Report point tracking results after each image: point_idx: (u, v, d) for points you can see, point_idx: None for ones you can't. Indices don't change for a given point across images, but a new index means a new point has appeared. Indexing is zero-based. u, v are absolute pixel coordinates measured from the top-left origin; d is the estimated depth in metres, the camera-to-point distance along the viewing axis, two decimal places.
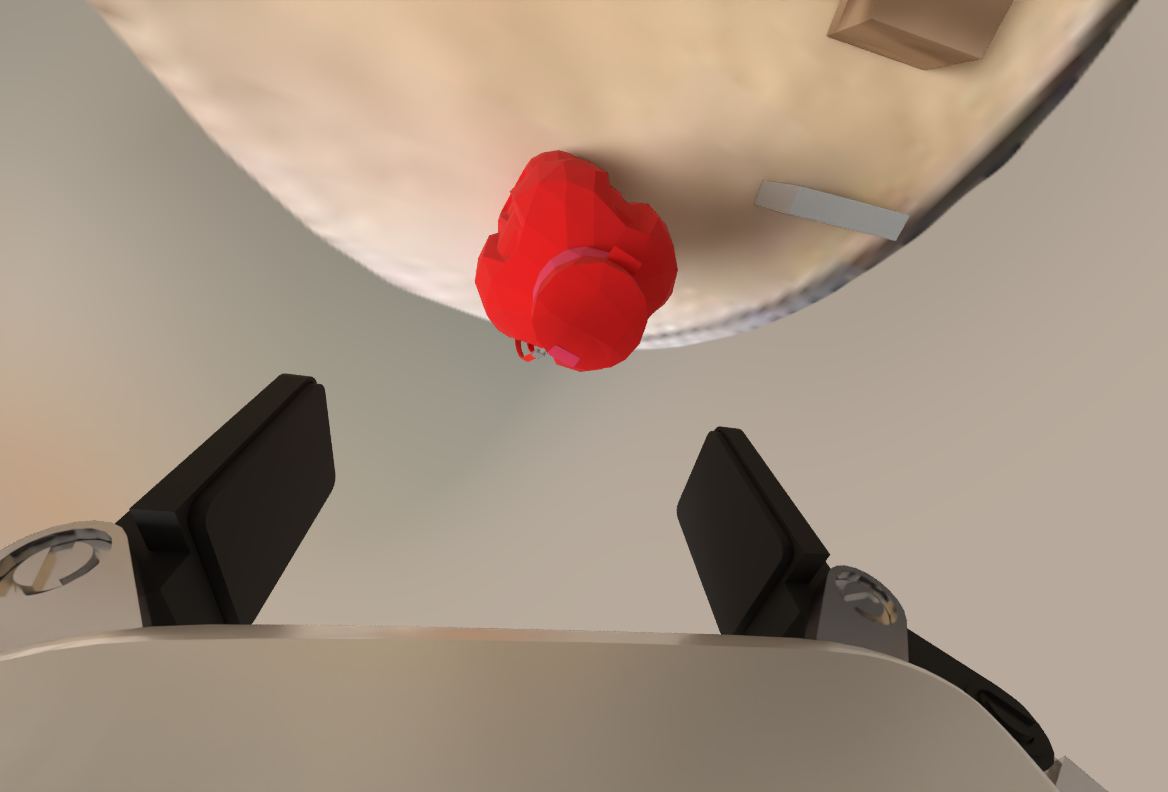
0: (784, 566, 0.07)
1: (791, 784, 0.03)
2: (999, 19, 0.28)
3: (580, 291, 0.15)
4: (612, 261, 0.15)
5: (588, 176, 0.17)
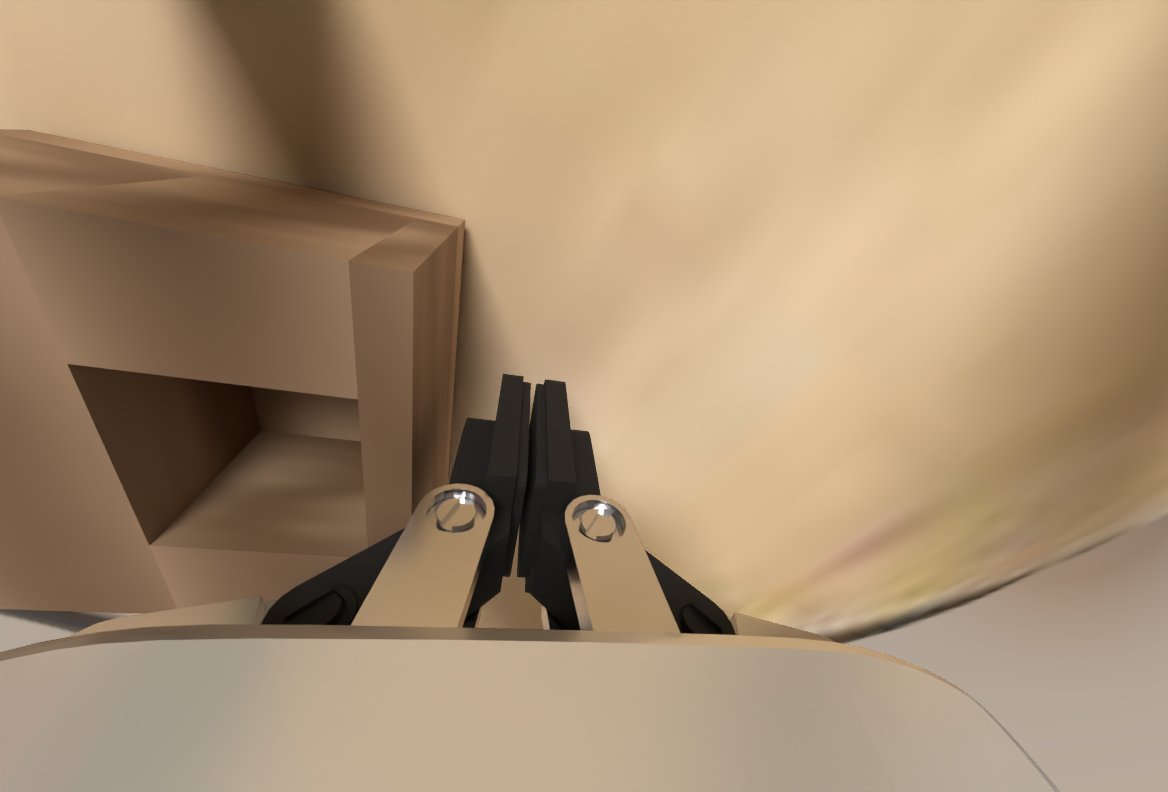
0: (540, 496, 0.08)
1: (790, 784, 0.03)
2: (83, 605, 0.09)
3: None
4: None
5: None
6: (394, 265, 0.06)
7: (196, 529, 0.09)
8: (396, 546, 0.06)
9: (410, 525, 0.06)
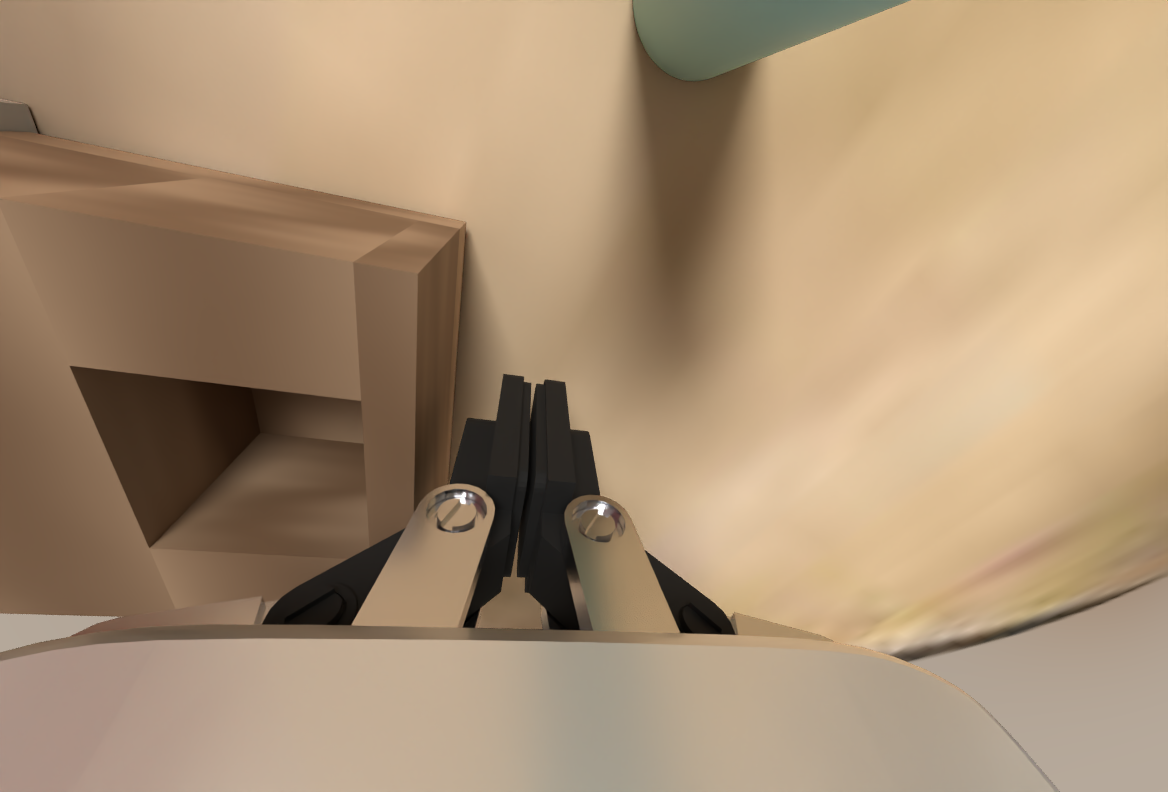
0: (539, 496, 0.08)
1: (789, 783, 0.03)
2: (81, 609, 0.09)
3: None
4: None
5: None
6: (398, 267, 0.06)
7: (196, 532, 0.09)
8: (397, 546, 0.06)
9: (411, 525, 0.06)
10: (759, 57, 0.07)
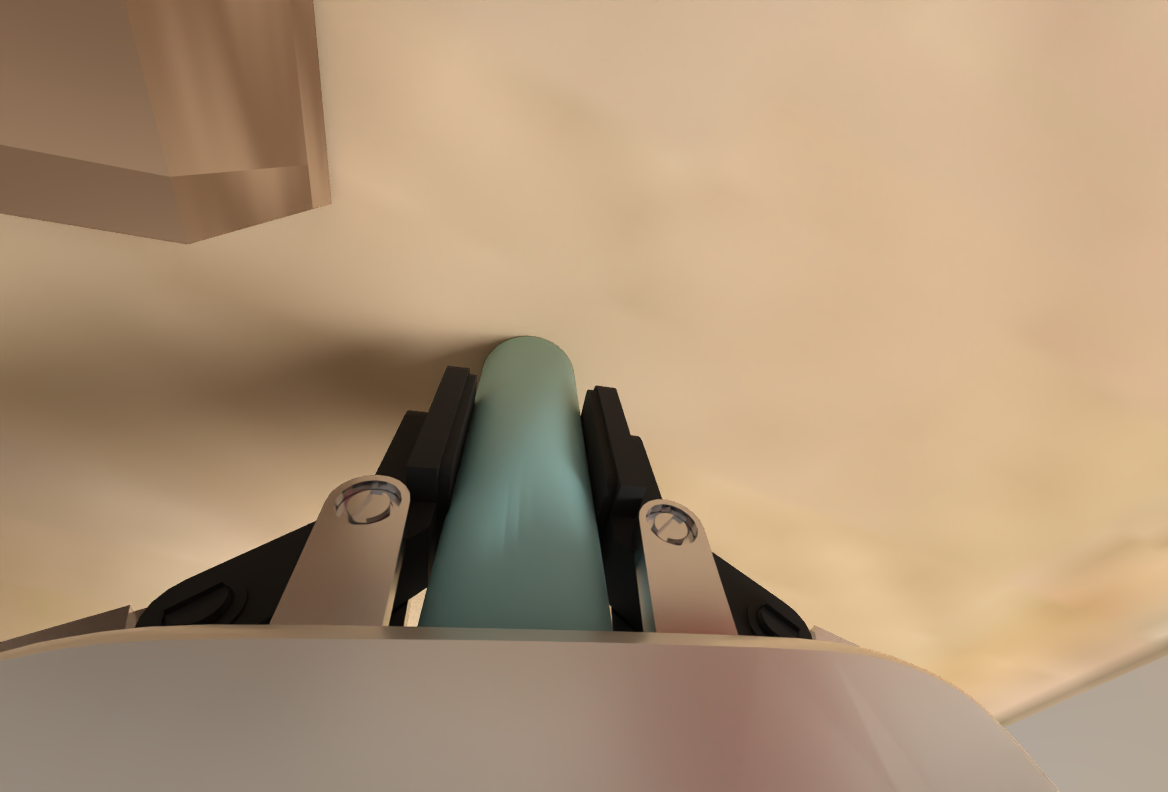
0: (609, 500, 0.08)
1: (790, 783, 0.03)
2: None
3: None
4: None
5: None
6: (189, 220, 0.06)
7: None
8: (305, 548, 0.06)
9: (318, 525, 0.06)
10: None
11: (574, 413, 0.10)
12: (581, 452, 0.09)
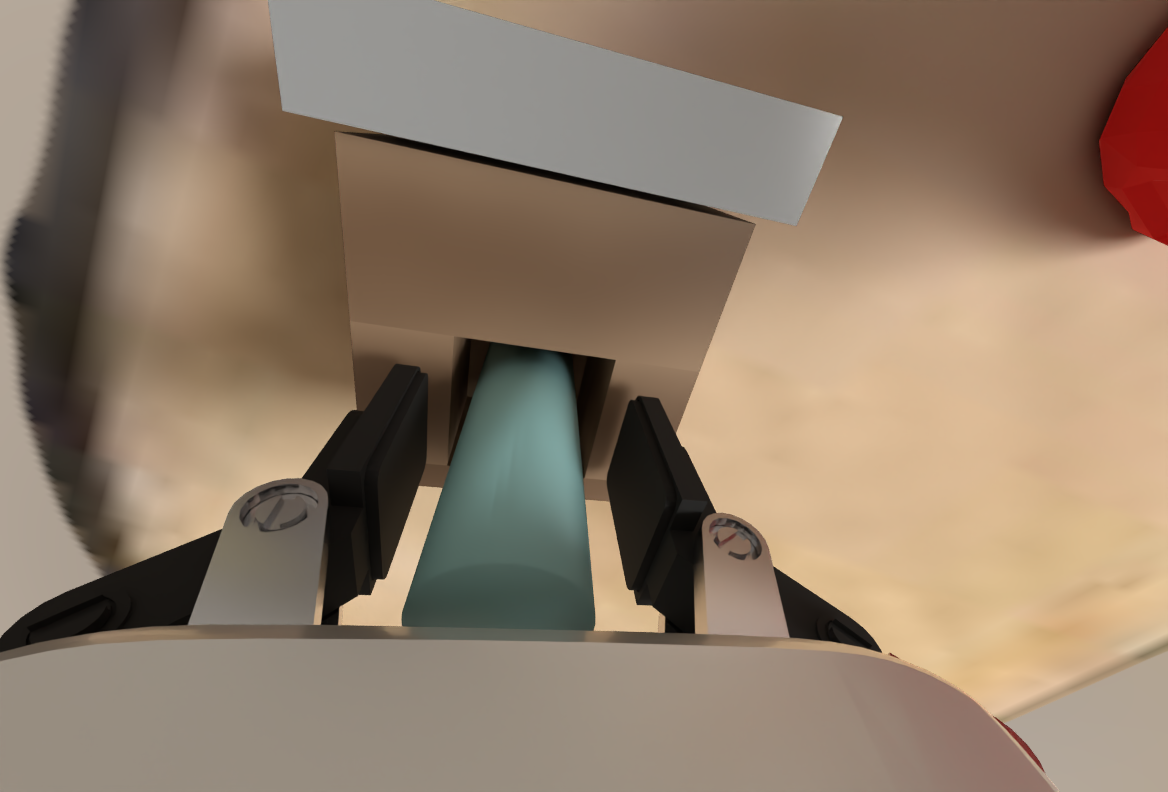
0: (668, 514, 0.08)
1: (791, 784, 0.03)
2: (354, 245, 0.09)
3: None
4: None
5: None
6: None
7: (455, 348, 0.11)
8: (211, 564, 0.05)
9: (224, 538, 0.06)
10: None
11: (568, 379, 0.12)
12: (571, 409, 0.11)
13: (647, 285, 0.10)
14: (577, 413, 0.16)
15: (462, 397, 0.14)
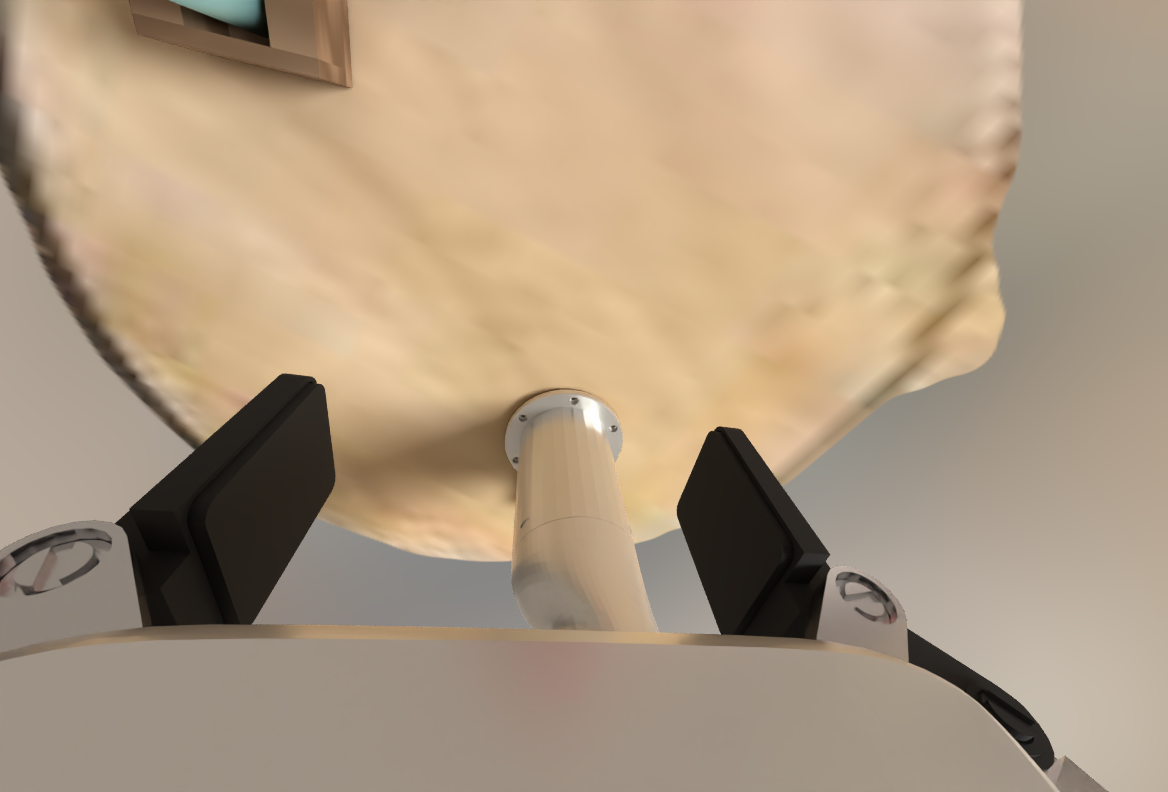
0: (784, 566, 0.07)
1: (790, 783, 0.03)
2: None
3: None
4: None
5: None
6: (319, 71, 0.24)
7: None
8: None
9: None
10: None
11: None
12: None
13: None
14: None
15: (213, 19, 0.24)
